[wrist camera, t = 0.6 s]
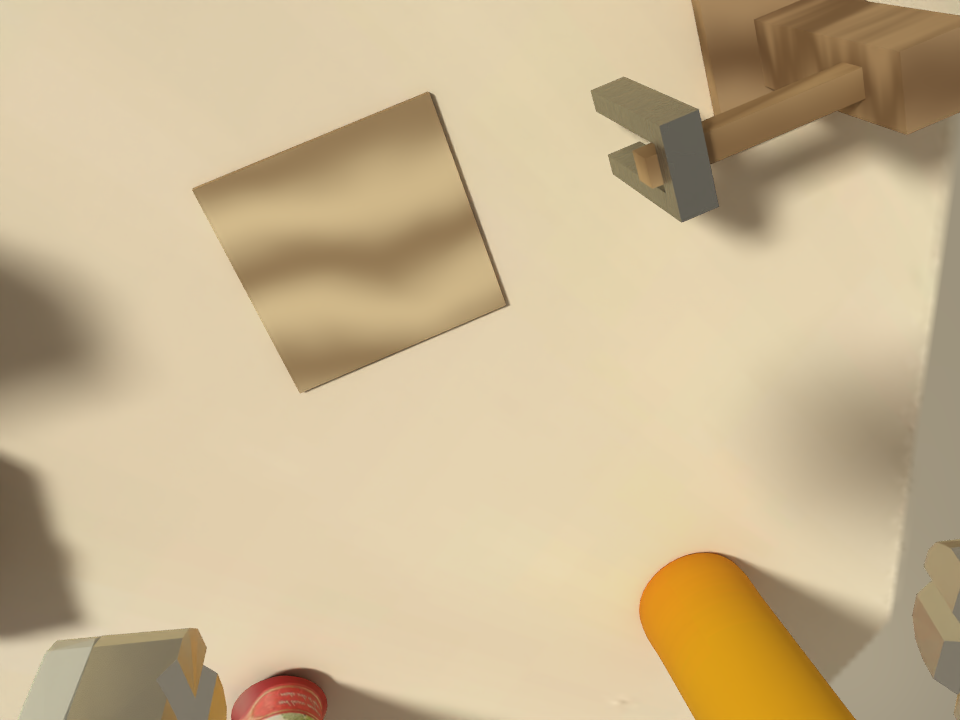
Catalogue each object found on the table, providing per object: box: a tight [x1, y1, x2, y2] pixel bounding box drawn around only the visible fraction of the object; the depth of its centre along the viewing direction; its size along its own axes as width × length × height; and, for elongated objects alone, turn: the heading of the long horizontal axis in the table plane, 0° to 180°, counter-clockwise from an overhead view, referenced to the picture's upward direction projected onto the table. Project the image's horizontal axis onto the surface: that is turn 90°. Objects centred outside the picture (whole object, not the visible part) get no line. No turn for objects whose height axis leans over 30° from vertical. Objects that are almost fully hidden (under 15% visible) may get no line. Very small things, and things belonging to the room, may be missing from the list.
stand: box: [632, 0, 960, 189], centre depth 47 cm, size 10×19×14 cm, turn 109°
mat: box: [193, 92, 506, 393], centre depth 53 cm, size 14×14×1 cm
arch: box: [591, 77, 719, 222], centre depth 46 cm, size 5×2×9 cm, turn 19°
